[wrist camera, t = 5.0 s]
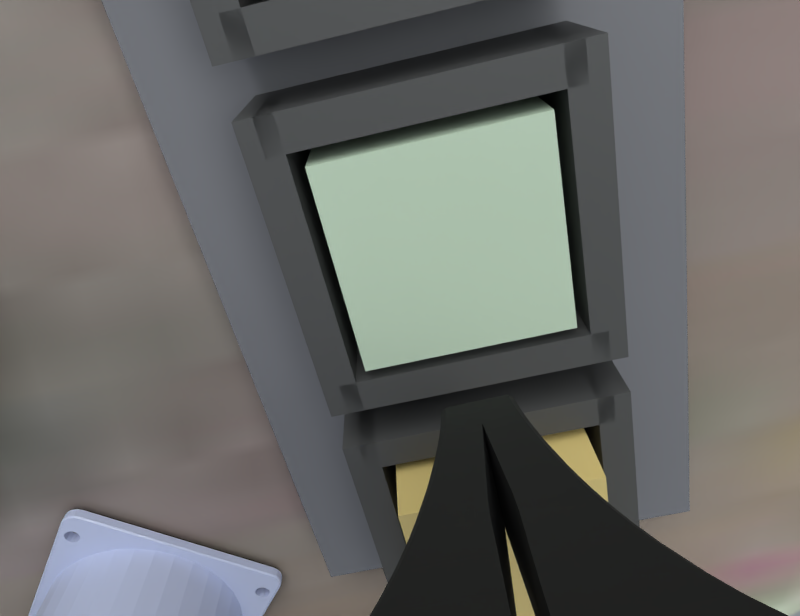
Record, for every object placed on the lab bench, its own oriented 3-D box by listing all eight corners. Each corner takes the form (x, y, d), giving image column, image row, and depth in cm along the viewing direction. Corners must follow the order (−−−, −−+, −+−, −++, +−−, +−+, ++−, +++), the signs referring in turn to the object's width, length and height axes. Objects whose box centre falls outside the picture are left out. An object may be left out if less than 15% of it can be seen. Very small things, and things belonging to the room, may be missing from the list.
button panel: (665, 468, 23) (731, 583, 19) (334, 530, 24) (325, 654, 19) (630, -526, 12) (776, -806, 7) (6, -340, 12) (-182, -495, 8)
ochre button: (591, 540, 19) (618, 613, 17) (430, 570, 19) (437, 644, 17) (576, 411, 17) (606, 476, 15) (395, 447, 17) (398, 515, 15)
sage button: (551, 280, 16) (577, 327, 14) (366, 319, 17) (365, 371, 15) (527, 87, 14) (553, 109, 12) (315, 137, 15) (304, 167, 12)
